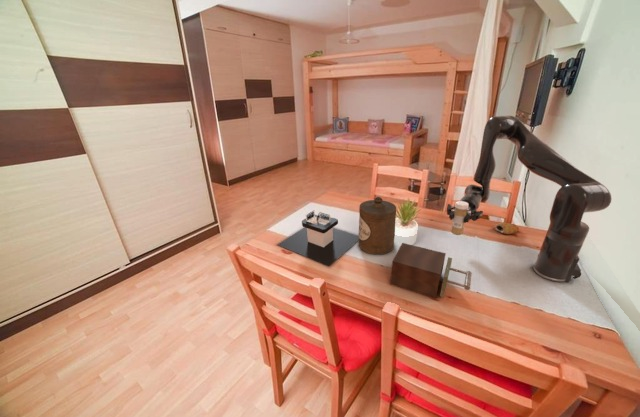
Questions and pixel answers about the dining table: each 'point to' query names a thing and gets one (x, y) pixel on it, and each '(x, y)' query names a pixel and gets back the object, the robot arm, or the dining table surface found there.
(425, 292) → the cabinet
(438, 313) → the dining table surface
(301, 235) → the capped box on tray
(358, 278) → the dining table surface
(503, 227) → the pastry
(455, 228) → the sprinkles bottle
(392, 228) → the wooden container
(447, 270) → the drawer
